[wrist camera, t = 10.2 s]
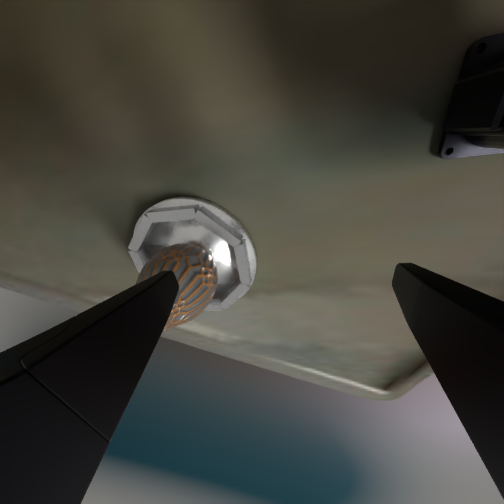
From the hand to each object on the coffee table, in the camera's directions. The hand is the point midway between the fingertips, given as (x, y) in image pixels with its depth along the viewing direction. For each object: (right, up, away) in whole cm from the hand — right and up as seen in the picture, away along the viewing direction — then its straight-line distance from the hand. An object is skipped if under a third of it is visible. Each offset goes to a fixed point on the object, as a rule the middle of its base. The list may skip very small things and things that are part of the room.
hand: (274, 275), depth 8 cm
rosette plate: (-7, 0, +15) cm, 17 cm away
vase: (-7, 0, +14) cm, 16 cm away
